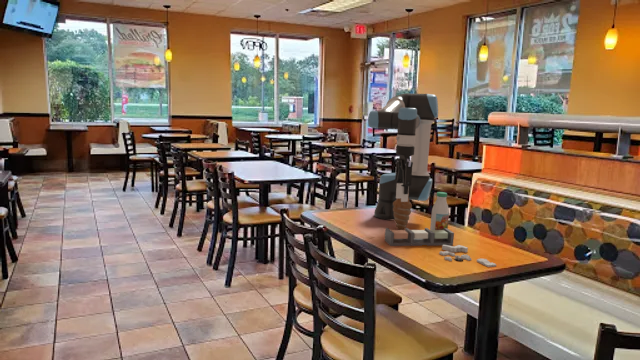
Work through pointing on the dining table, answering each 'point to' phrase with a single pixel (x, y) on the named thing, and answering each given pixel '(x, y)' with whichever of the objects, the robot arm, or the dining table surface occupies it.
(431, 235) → the keypad
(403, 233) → the brown flat block
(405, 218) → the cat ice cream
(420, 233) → the cream key
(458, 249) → the white puzzle pieces
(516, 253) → the dining table surface
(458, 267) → the dining table surface
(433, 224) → the milk bottle
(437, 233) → the sage key
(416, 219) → the dining table surface
